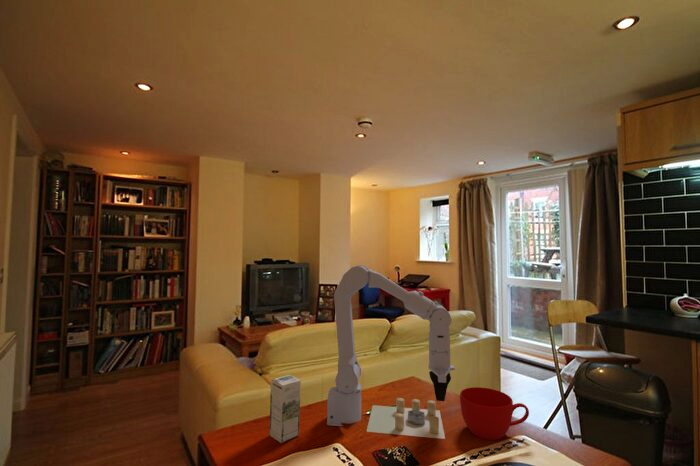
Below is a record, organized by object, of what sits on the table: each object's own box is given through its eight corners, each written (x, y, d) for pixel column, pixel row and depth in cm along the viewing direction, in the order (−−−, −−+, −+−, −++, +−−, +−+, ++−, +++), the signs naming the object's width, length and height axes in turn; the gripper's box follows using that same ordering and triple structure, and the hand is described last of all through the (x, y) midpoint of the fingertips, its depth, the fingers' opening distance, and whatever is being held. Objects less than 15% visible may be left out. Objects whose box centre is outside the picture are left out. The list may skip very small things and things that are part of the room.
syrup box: (287, 427, 94) (288, 373, 95) (300, 436, 89) (301, 379, 90) (268, 435, 90) (269, 378, 91) (281, 444, 85) (282, 384, 86)
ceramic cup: (537, 454, 82) (536, 411, 82) (463, 446, 85) (463, 404, 86) (522, 427, 94) (521, 390, 95) (458, 421, 98) (457, 385, 98)
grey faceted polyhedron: (412, 426, 93) (412, 418, 93) (404, 419, 97) (404, 411, 97) (428, 423, 94) (428, 415, 95) (420, 416, 99) (419, 409, 99)
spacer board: (366, 435, 90) (366, 417, 90) (372, 408, 106) (372, 393, 106) (445, 442, 87) (445, 424, 87) (439, 413, 102) (439, 398, 103)
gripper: (458, 358, 88) (459, 413, 87) (451, 343, 102) (452, 390, 101) (429, 356, 89) (430, 410, 88) (426, 342, 103) (427, 389, 103)
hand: (440, 400), depth 95 cm, fingers closed
